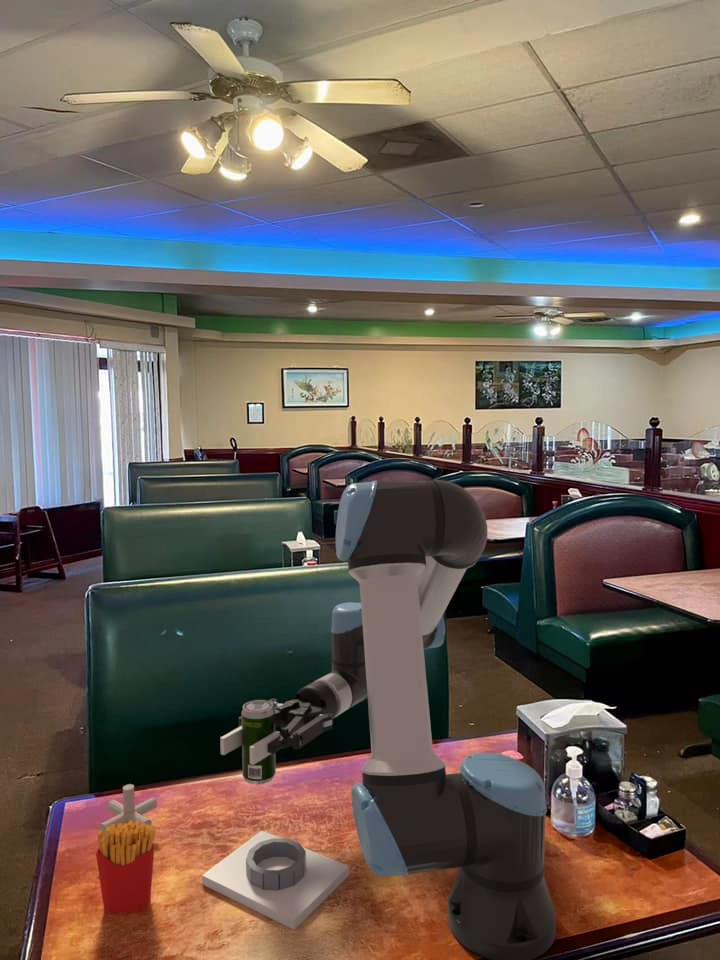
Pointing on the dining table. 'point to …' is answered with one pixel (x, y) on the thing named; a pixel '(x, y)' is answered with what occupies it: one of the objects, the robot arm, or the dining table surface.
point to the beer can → (257, 740)
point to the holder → (276, 878)
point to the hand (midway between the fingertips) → (236, 750)
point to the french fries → (126, 866)
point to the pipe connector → (128, 809)
